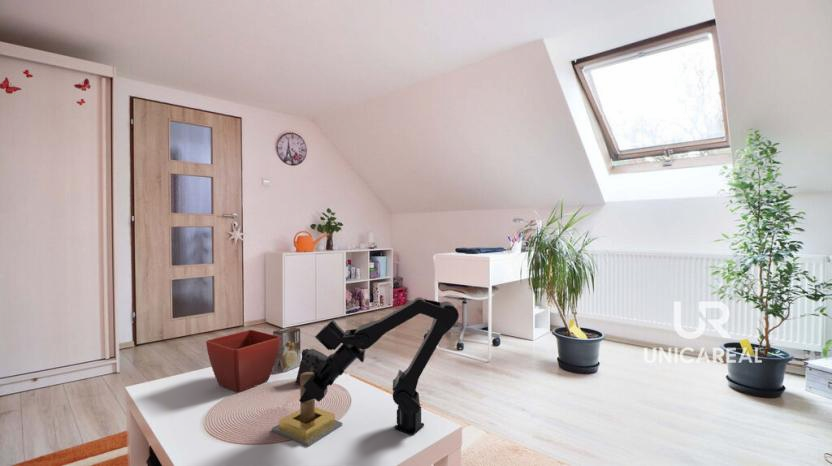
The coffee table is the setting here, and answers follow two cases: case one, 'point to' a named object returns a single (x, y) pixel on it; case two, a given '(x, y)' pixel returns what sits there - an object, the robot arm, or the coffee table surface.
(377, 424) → the coffee table surface
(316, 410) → the socket
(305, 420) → the pin
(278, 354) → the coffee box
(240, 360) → the plant pot
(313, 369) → the phone stand
